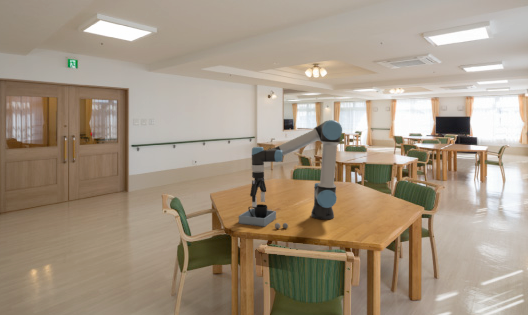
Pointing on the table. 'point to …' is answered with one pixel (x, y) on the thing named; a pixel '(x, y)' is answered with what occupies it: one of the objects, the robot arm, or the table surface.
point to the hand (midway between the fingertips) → (258, 204)
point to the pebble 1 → (277, 225)
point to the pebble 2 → (285, 225)
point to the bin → (249, 220)
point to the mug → (259, 211)
